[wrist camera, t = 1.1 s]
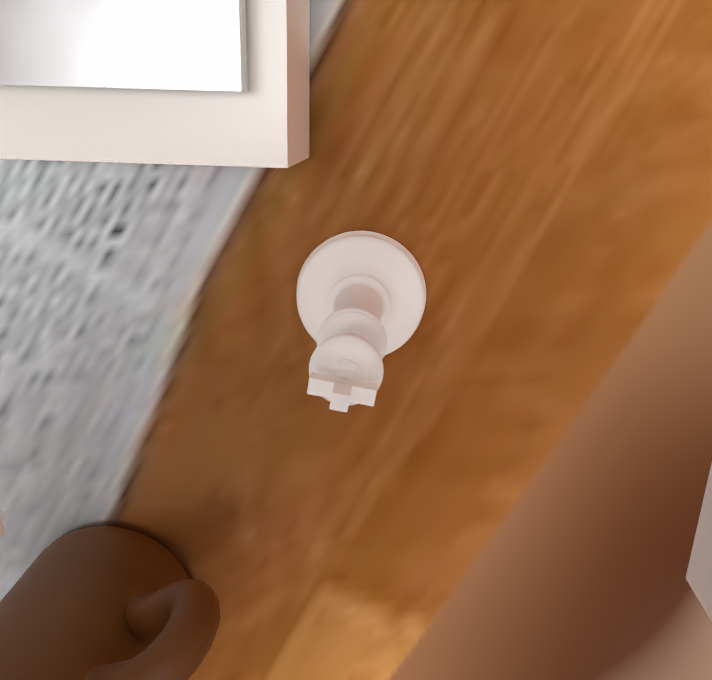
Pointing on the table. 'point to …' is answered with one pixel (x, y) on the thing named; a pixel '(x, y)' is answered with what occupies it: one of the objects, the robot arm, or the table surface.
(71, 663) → the mug
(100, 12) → the textured square plate
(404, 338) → the chess piece
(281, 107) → the scale
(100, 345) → the table surface
